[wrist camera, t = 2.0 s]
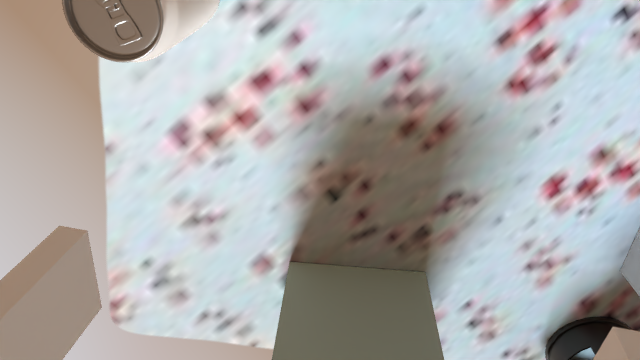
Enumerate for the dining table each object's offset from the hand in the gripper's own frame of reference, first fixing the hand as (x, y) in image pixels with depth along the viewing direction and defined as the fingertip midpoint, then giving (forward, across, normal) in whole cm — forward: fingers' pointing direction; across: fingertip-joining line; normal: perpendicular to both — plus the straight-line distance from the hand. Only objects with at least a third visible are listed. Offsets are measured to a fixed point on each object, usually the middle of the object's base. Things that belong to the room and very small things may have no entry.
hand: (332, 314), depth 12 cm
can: (+29, -16, +2) cm, 33 cm away
